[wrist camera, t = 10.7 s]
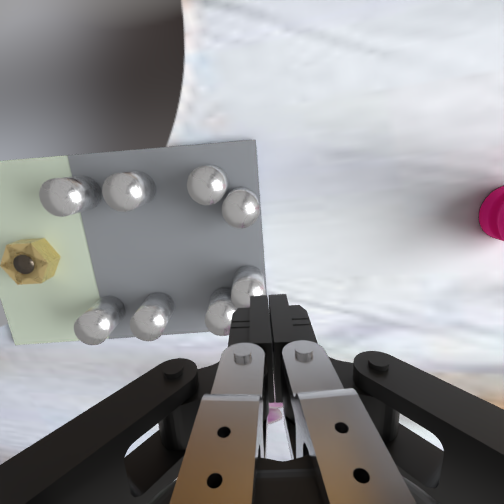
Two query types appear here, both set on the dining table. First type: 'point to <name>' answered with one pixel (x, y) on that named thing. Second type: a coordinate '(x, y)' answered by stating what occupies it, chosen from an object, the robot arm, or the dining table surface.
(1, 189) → the board
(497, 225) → the pepper mill
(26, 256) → the nut
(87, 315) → the spacers
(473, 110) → the dining table surface
